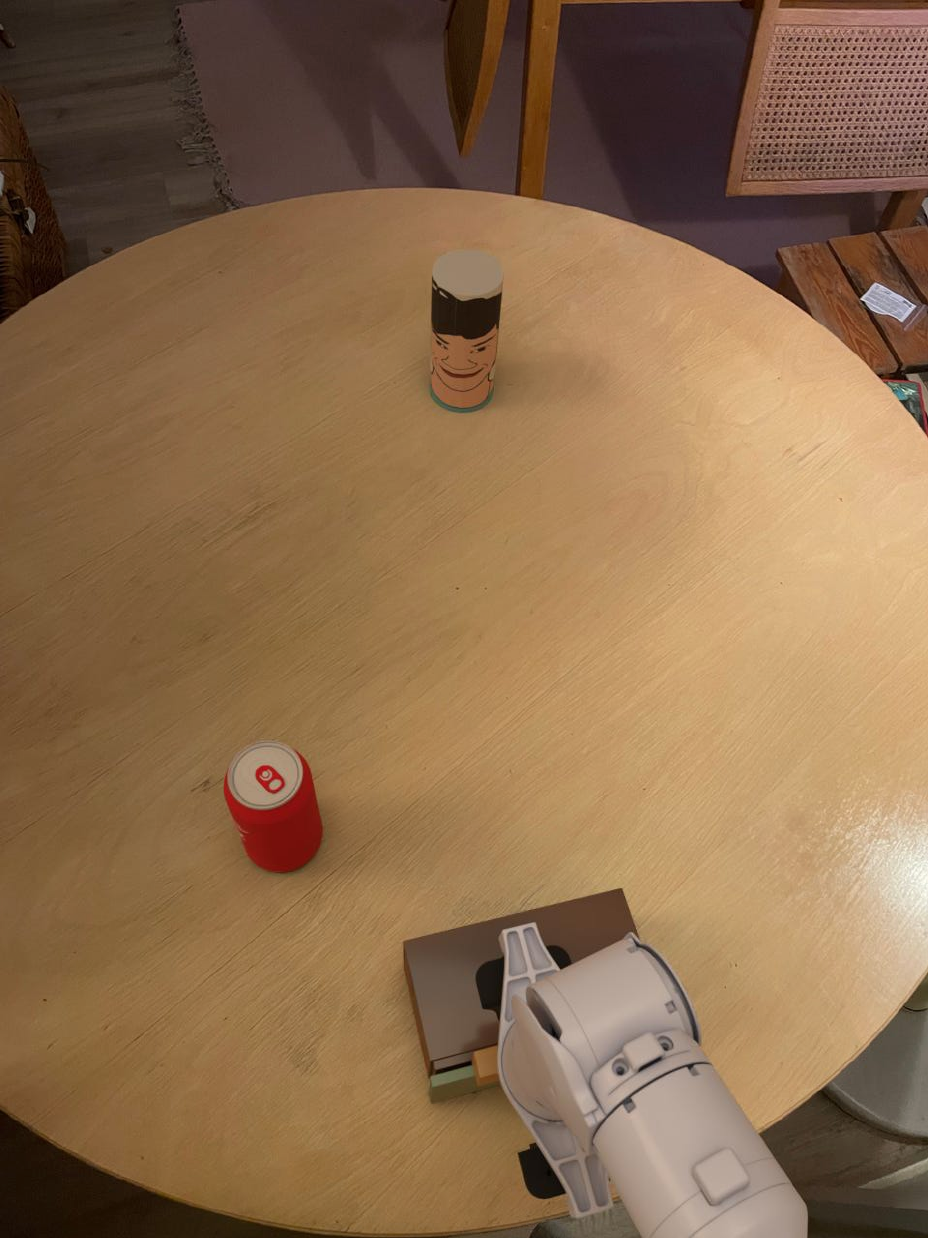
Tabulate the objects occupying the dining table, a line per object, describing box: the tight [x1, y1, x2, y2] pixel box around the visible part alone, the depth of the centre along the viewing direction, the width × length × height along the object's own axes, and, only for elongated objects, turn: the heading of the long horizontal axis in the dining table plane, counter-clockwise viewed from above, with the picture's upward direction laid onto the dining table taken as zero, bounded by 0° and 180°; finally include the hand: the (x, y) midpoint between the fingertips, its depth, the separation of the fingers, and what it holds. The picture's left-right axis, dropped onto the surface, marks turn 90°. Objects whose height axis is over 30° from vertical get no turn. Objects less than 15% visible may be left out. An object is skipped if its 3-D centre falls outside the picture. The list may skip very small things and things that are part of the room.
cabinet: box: [402, 887, 641, 1080], centre depth 73 cm, size 9×16×7 cm, turn 104°
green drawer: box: [428, 1045, 502, 1105], centre depth 68 cm, size 2×8×10 cm, turn 105°
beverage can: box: [223, 739, 324, 873], centre depth 77 cm, size 6×6×12 cm
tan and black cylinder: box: [429, 248, 505, 413], centre depth 103 cm, size 7×7×15 cm
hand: (531, 1076), depth 63 cm, fingers open, 7 cm apart
